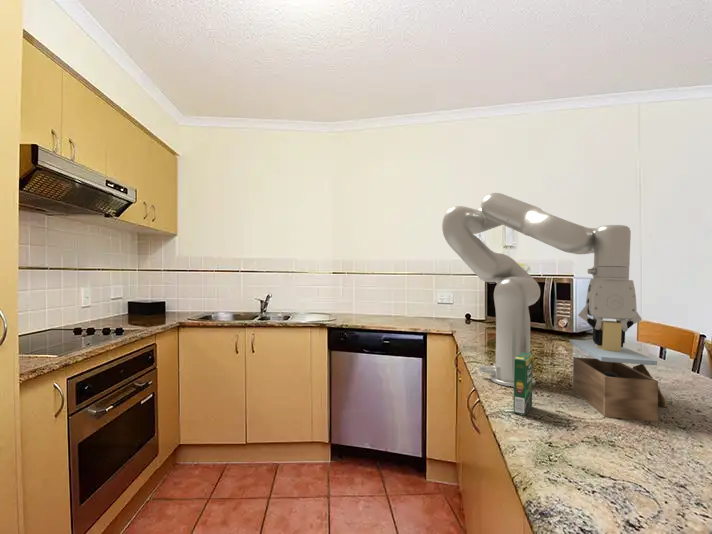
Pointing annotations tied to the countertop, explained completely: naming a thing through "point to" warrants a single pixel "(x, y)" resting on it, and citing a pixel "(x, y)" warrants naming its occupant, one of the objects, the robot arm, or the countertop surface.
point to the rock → (661, 399)
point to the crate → (616, 389)
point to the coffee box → (523, 383)
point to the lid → (612, 347)
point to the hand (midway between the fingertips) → (608, 344)
